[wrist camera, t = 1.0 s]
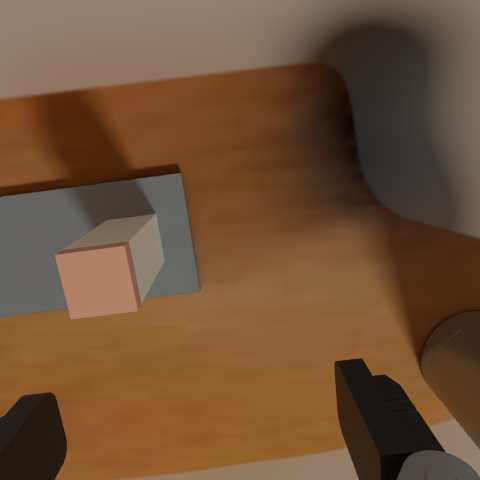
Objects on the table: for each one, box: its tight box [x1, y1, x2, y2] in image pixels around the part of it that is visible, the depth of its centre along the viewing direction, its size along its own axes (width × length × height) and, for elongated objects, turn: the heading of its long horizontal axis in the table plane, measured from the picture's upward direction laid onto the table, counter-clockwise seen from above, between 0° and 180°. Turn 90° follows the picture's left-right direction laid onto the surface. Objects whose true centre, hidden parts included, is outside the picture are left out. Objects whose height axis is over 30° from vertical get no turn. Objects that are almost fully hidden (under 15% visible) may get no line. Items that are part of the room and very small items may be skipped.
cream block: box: [55, 214, 165, 319], centre depth 28 cm, size 4×4×10 cm
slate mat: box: [0, 173, 200, 317], centre depth 33 cm, size 18×10×1 cm, turn 97°
